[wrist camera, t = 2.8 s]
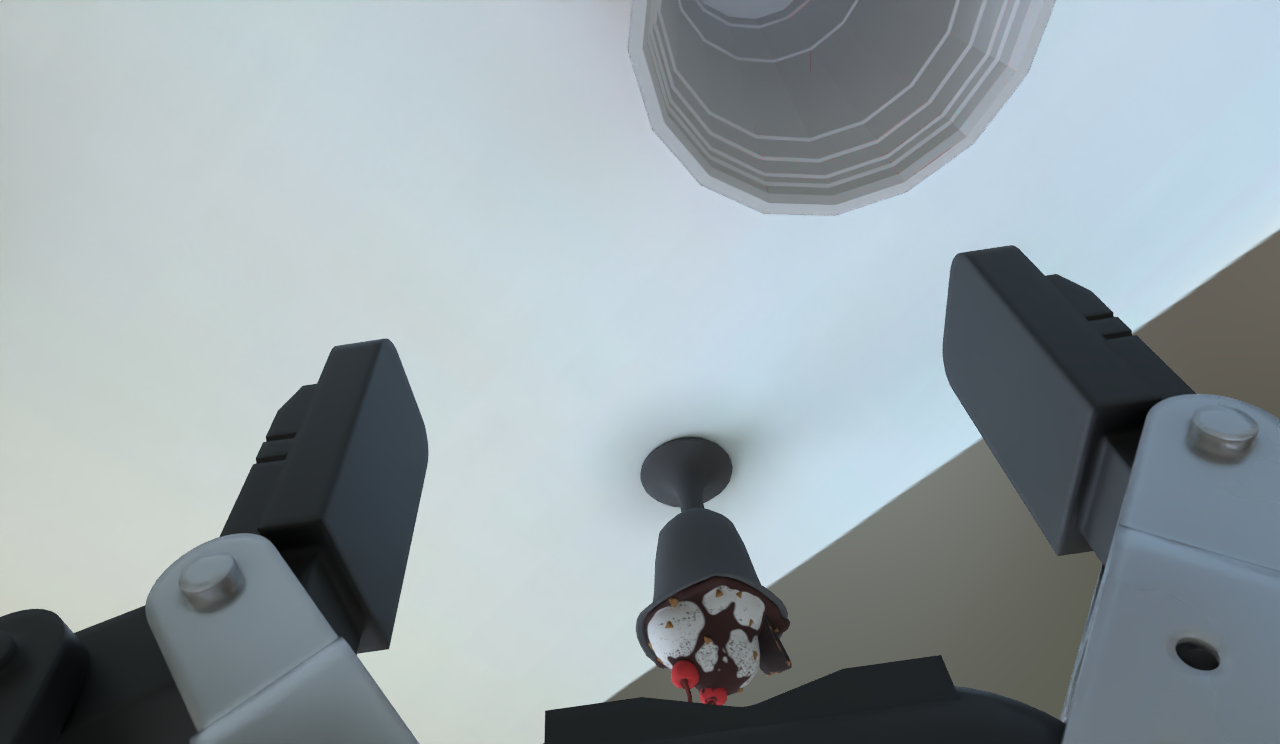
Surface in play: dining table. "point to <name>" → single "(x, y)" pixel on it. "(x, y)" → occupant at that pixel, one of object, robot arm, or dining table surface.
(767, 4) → the plastic cup
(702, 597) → the sundae
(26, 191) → the dining table surface
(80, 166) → the dining table surface
